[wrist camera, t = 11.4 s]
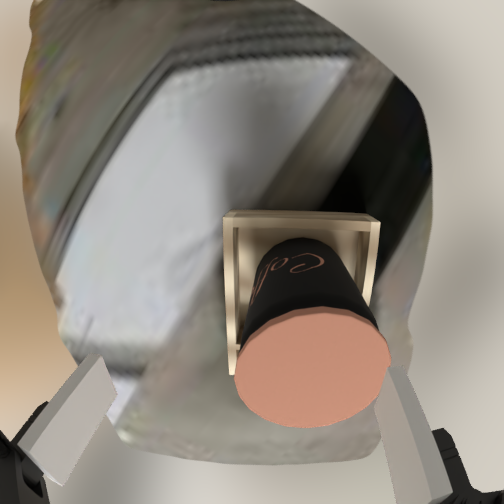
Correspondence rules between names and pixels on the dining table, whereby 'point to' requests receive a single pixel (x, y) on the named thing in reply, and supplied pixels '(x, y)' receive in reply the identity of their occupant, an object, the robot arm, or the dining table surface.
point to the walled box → (276, 231)
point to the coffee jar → (308, 339)
